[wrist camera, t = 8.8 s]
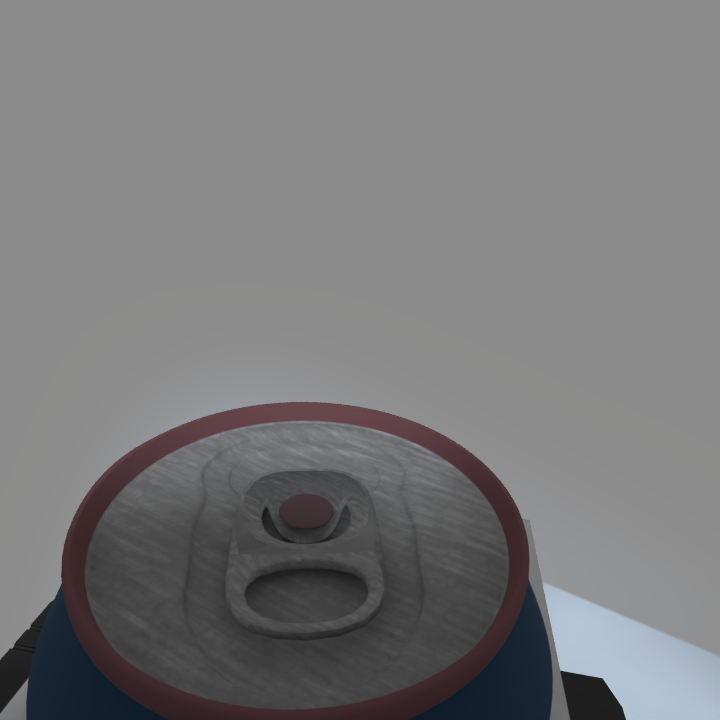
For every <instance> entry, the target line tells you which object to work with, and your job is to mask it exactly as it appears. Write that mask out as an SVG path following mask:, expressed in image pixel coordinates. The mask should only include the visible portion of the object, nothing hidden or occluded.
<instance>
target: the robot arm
mask: <svg viewBox="0 0 720 720" xmlns="http://www.w3.org/2000/svg"><path fill="white" fill-rule="evenodd" d="M522 520H523V523H524V526H525V530H526V533H527V539H528V545H529V558H530V564H529V578H528V579H529V581H530V584H531V586H532V589H533V592H534V594H535V597H536V600H537V603H538V605H539V608H540V611H541V614H542V617H543V620H544V624H545V628H546V632H547V635H548V640H549V646H550V651H551V659H552V671H553V696H552V706H551V715H550V720H626V718H625V715H624V712H623V708H622V706H621V705H620V703H619V702H618V701H617V699H616V698H615V696H614V695H613V693H612V692H611V690H610V689H609V687H608V686H607V684H606V683H605V681H604V680H603V678H597V677H592V676H586V675H581V674H575V673H570V672H564V671H560V668H559V663H558V658H557V653H556V648H555V643H554V638H553V633H552V629H551V624H550V619H549V614H548V609H547V604H546V599H545V594H544V589H543V585H542V580H541V575H540V570H539V565H538V560H537V555H536V550H535V545H534V541H533V536H532V531H531V526H530V521H529V520H524V519H522ZM53 602H54V600H53V601H52V602H50V604H49V605H48V606H47V607H46V608H45V609H44V610H43V612H42V613H41V614H40V615H39V616H38V618H36V620H35V621H34V622H33V623H32V624H31V627H30V629H29V630H26V631H25V632H24V633H23V634H22V636H21V637H20V638H19V639H18V640H17V641H16V643H15V645H14V647H13V648H12V649H9V651H8V652H7V653H6V654H5V655H4V656H3V657H2V659H1V660H0V720H26V699H27V687H28V679H29V674H30V668H31V663H32V659H33V655H34V652H35V648H36V644H37V641H38V638H39V635H40V633H41V630H42V627H43V625H44V622H45V619H46V617H47V615H48V612H49V610H50V608H51V606H52V604H53Z"/></svg>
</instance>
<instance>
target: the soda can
mask: <svg viewBox="0 0 720 720" xmlns="http://www.w3.org/2000/svg"><path fill="white" fill-rule="evenodd" d="M529 564H530V558H529V545H528V539H527V533H526V530H525V526H524V523H523V520H522V518H521V515H520V513H519V510H518V508H517V506H516V504H515V502H514V501H513V499H512V497H511V496H510V494H509V492H508V491H507V489H506V488H505V487H504V485H503V484H502V483H501V481H500V480H499V479H498V478H497V477H496V476H495V474H494V473H493V472H492V471H491V470H490V469H489V468H488V467H487V466H486V465H485V464H484V463H482V462H481V461H480V460H479V459H478V458H477V457H475V456H474V455H473V454H472V453H470V452H469V451H468V450H466V449H465V448H463V447H462V446H460V445H459V444H457V443H456V442H454V441H452V440H451V439H449V438H447V437H446V436H444V435H442V434H440V433H438V432H436V431H434V430H432V429H430V428H428V427H425V426H423V425H421V424H418V423H416V422H413V421H410V420H407V419H404V418H402V417H399V416H395V415H392V414H389V413H385V412H381V411H377V410H372V409H367V408H362V407H356V406H349V405H342V404H332V403H317V402H289V403H274V404H265V405H264V404H263V405H256V406H249V407H243V408H238V409H233V410H229V411H224V412H220V413H216V414H213V415H209V416H206V417H203V418H200V419H197V420H194V421H191V422H188V423H186V424H183V425H181V426H179V427H176V428H173V429H171V430H169V431H167V432H165V433H163V434H160V435H158V436H156V437H154V438H153V439H151V440H149V441H147V442H145V443H143V444H142V445H140V446H138V447H136V448H135V449H133V450H132V451H130V452H129V453H128V454H126V455H125V456H123V457H122V458H121V459H119V460H118V461H117V462H115V463H114V464H113V465H112V466H111V467H110V468H109V469H108V470H107V471H106V472H105V473H104V474H103V475H102V476H101V477H100V478H99V479H98V480H97V482H96V483H95V484H94V485H93V487H92V488H91V490H90V491H89V492H88V493H87V495H86V496H85V498H84V499H83V501H82V503H81V504H80V506H79V508H78V510H77V512H76V514H75V516H74V518H73V521H72V523H71V525H70V528H69V530H68V533H67V537H66V540H65V544H64V550H63V556H62V575H61V578H62V584H61V587H60V589H59V591H58V593H57V595H56V597H55V599H54V602H53V604H52V606H51V608H50V610H49V612H48V615H47V617H46V619H45V622H44V625H43V627H42V630H41V633H40V635H39V638H38V641H37V644H36V648H35V652H34V655H33V659H32V663H31V668H30V674H29V679H28V687H27V699H26V720H550V715H551V706H552V696H553V671H552V659H551V651H550V646H549V640H548V635H547V632H546V628H545V624H544V620H543V617H542V614H541V611H540V608H539V605H538V603H537V600H536V597H535V594H534V592H533V589H532V586H531V584H530V581H529V579H528V578H529Z"/></svg>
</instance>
